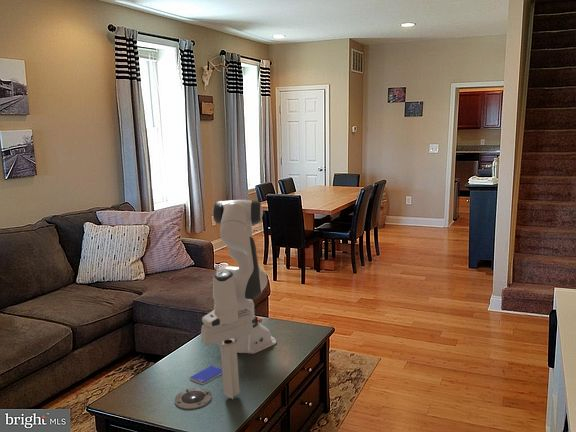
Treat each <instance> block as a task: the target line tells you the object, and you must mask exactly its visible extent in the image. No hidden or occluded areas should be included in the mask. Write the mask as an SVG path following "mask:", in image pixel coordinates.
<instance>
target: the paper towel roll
mask: <svg viewBox="0 0 576 432" xmlns="http://www.w3.org/2000/svg"><path fill="white" fill-rule="evenodd" d="M221 345H222V346H223V352H221V351H220V356H221V357H220V359H221V369H222V374H221V375H222V387H223V394H224V396H226V397H227V398H229V399H232V400H234V397H236V396H238V394H240V383H239V381H240V379H239V377H240V376H239V365H238V353H237V347H236V340H235V339H228V340H225V341H222V344H221Z"/></svg>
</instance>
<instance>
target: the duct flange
mask: <svg viewBox="0 0 576 432" xmlns="http://www.w3.org/2000/svg"><path fill="white" fill-rule="evenodd" d="M212 398H213V397H212V392H211V391H210V390H208V388H207V389H206V388H204V387H192V388H186V389H185V390H182V391H180V392H179V393H178V394H177V395H176V396H175V398H174V404H175V406H176V407H178V408H180V409H183V410H195V409H199V408H202V407H205V406H206V405H208V404H209V403H210V402H211V401H212Z"/></svg>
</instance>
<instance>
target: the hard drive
mask: <svg viewBox="0 0 576 432" xmlns="http://www.w3.org/2000/svg"><path fill="white" fill-rule="evenodd" d="M221 375H222V368H219V367H216V366H213V365H210V366H208V367H205V369H203V370H201V371H199V372H197V373H195V374H193V375H191V376H189V378H188V379H189V380H190V381H192V382H194V383H197V384H200V385H202V386H203V385H205V384H207V383H209V382H210V381H212V380H214V379H216V378H217V377H220V376H221Z"/></svg>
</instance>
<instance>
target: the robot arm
mask: <svg viewBox="0 0 576 432" xmlns="http://www.w3.org/2000/svg"><path fill="white" fill-rule="evenodd" d="M263 215H264V209H263V206H262V203H261V202H260V201H258V200H254V199H252V200H249V199H230V200H219V201H216V202H215V203H214V205H213V208H212V218H213V220H214V222H215V223H216V224H219V226H220V227H219V235H220V240H221V242H222V243H223V244H224V245H225V246H226V247H227V248H228V249H227V250H228V255H229V256H230V258H231V259H233V260H234V261H235V262H236V263H237V265H238V266H234V265H226V266H225V265H224V266H220V267H218V269H217V270H216V271H215V273H214V274H213V278H212V287H211V288H212V298H213V300H214V305H213V310H211V311H210V312H209V313H207V314H205V315H203V316H202V318H201V321H202V323H203V324H202V326H201V328H200V330H201V331H200V338H201V342H202V344H203V345H205V346H206V347H208V346H212V345H215V344H217V345H218V346H219V350H220V353H221V352H223V346H222V345H221V344H222V341H225V340H228V339H235V340H236V347H237V354H239V353H240V354H253V355H254V354H256V353H258V352H259V353H260V352H261V351H263V350H265V349H267V348H270V347H273V346H274V345H277V340H276V338H275V337H274V336H272V334H271V331H270V330H269V328H268V327H266V326H265V325H263V324H261V323H262V322H263V318H261V317H258V316H256V315H255V302H254V300H256V299H258V298H259V297H260V296H261V295H262V293H263V291H264V289H265V288H266V287H267V284H268V277H267V274H266V272H265V271H264V270H263V269H262V268H261V267H260V266H259V260H258V259H259V258H258V254H257V247H256V242H255V239H254V238H253V228H252V227H254V226H255V225H257V224H259V223H260V222H261V221H262V218H263V217H264V216H263Z"/></svg>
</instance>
